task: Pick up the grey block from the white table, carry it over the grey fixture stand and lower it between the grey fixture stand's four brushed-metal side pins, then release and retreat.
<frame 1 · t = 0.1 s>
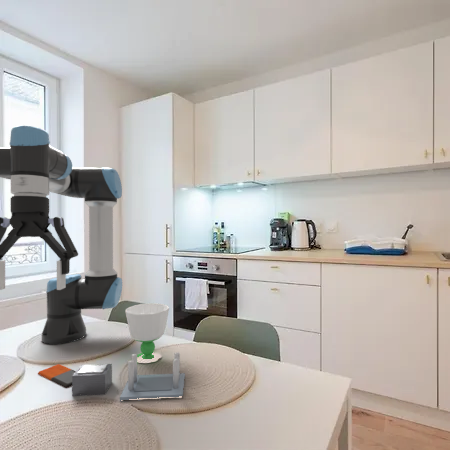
hand: (30, 289, 71), 28 cm above the table, fingers open, 13 cm apart
cup: (147, 358, 100), on the table
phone: (62, 378, 88), on the table
grey fixture stand: (154, 388, 81), on the table
grey block: (92, 389, 81), on the table
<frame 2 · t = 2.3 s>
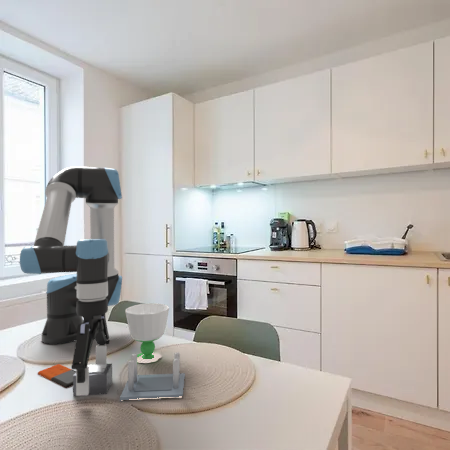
hand: (92, 381, 81), 2 cm above the table, fingers open, 13 cm apart
nothing on the table moved.
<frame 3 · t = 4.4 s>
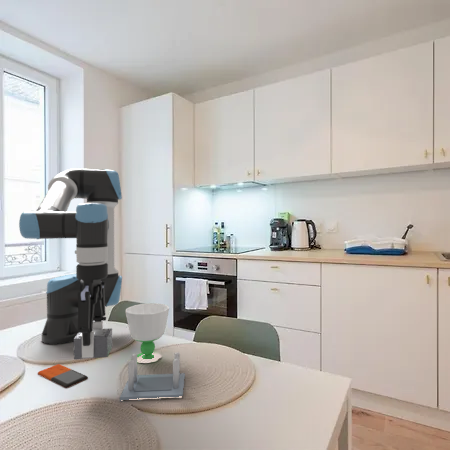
hand: (92, 350, 81), 10 cm above the table, fingers closed on grey block, 6 cm apart
grey block: (94, 353, 82), point 9 cm above the table, touching gripper
everything else where it was.
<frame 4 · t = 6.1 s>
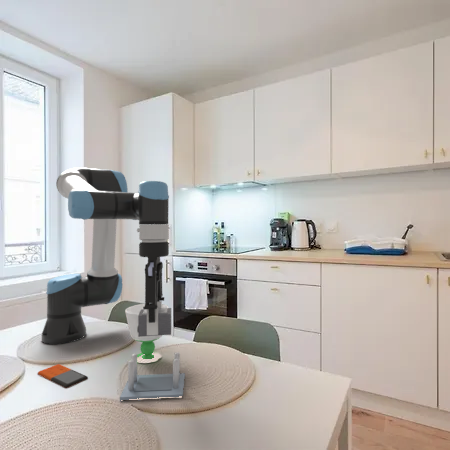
hand: (154, 329, 81), 15 cm above the table, fingers closed on grey block, 6 cm apart
grey block: (155, 331, 81), point 15 cm above the table, touching gripper
everything else where it was.
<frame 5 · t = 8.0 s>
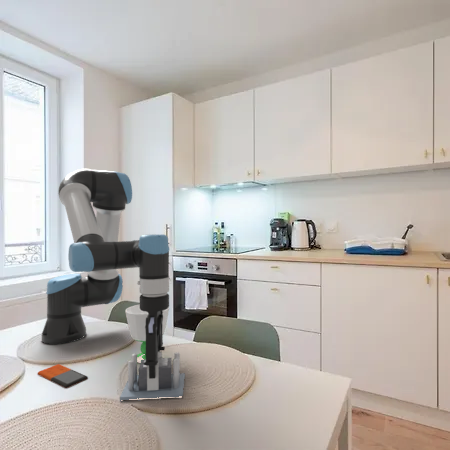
hand: (155, 382, 81), 1 cm above the table, fingers closed on grey block, 6 cm apart
grey block: (155, 383, 81), point 1 cm above the table, touching gripper, grey fixture stand
everything else where it was.
when the fingers open (1 cm above the table, at t = 8.2 s): grey block stays where it is, resting on grey fixture stand.
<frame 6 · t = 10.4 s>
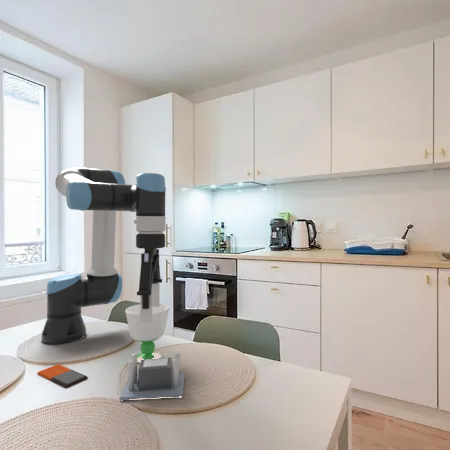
hand: (150, 313, 82), 19 cm above the table, fingers open, 13 cm apart
grey block: (155, 383, 81), point 1 cm above the table, touching grey fixture stand
everything else where it was.
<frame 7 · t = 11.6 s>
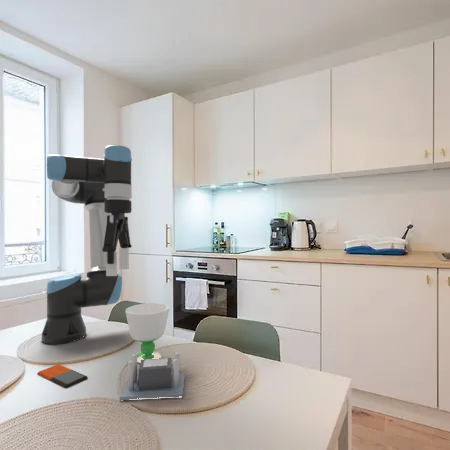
hand: (118, 272, 91), 29 cm above the table, fingers open, 13 cm apart
nothing on the table moved.
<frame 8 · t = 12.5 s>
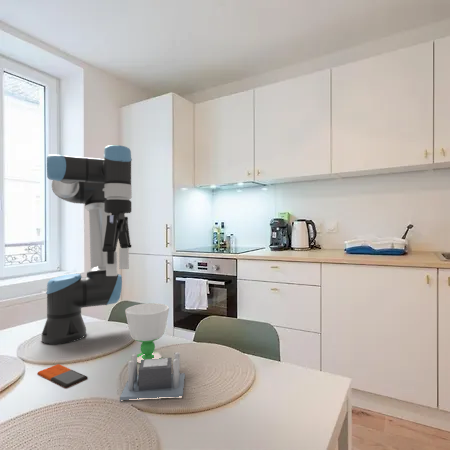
hand: (118, 272, 91), 29 cm above the table, fingers open, 13 cm apart
nothing on the table moved.
at the end: grey block 0.3 cm off-centre on the grey fixture stand, point 1.2 cm above the grey fixture stand's base; grey block tilted 0°; the gripper is holding nothing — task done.
